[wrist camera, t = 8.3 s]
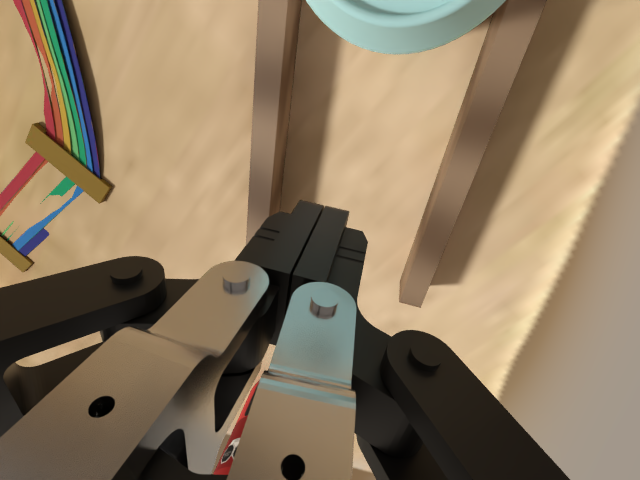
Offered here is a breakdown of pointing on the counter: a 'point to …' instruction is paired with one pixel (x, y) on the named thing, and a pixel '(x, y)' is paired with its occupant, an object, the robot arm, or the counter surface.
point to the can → (402, 21)
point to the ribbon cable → (55, 126)
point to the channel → (460, 156)
